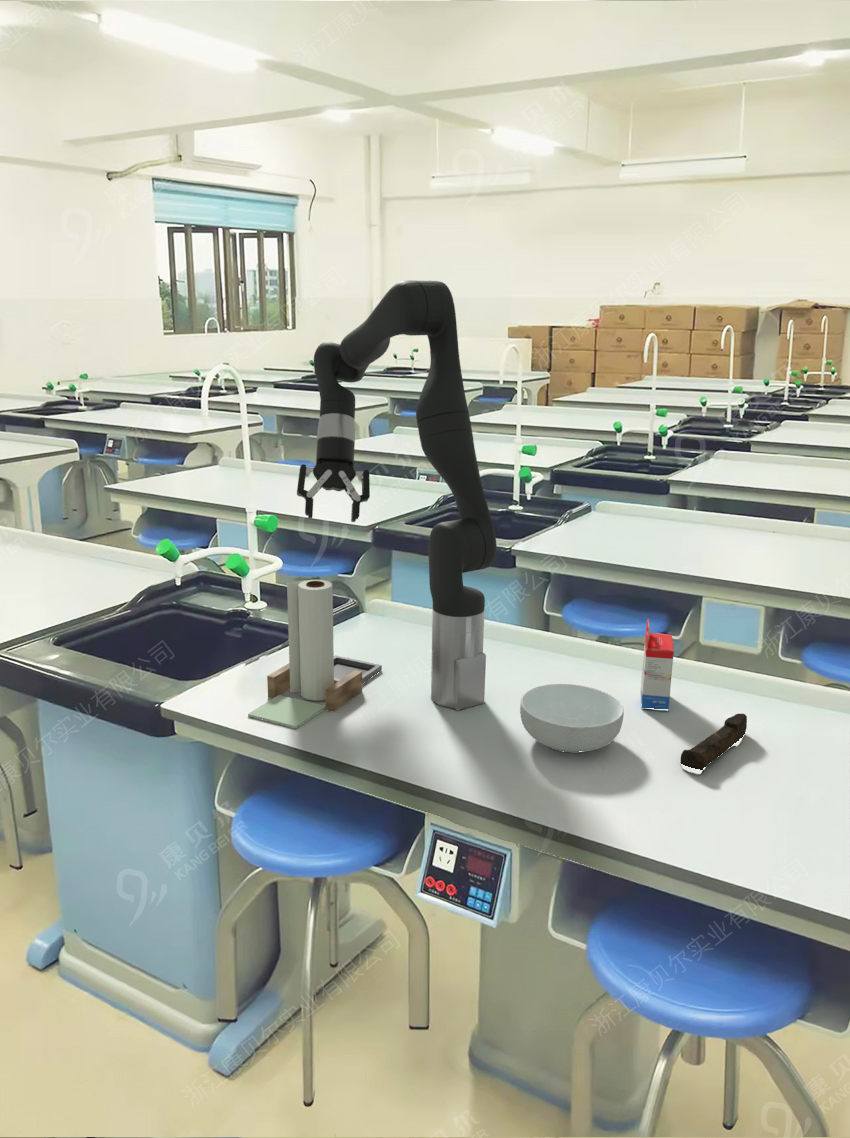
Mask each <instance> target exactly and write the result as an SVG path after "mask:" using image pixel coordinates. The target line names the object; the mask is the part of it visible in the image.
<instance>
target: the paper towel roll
mask: <svg viewBox="0 0 850 1138" xmlns="http://www.w3.org/2000/svg"><path fill="white" fill-rule="evenodd" d="M333 588H334V585H333V583H332V582H331V581H329V580H324V579H308V580H300V581H296V582H287V583H286V589H287V591H286V592H287V593H286V594H287V621H288V622H287V623H288V625H287V626H288V628H287V629H288V655H289V656H288V658H289V659H288V661H289V663H288V664H289V666H290V689H289V691H290V692H289V693H296V692H300V695H301V697H302V698H304V699H305V700H309V701H313V702H314V701H317V702H318V701H326V689H327V688H329V687H330V686H332V685H333V684H334V656H335V655H334V653H335V652H334V603H333V602H334V597H333V595H334V594H333V592H334V590H333Z"/></svg>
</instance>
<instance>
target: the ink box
mask: <svg viewBox="0 0 850 1138" xmlns="http://www.w3.org/2000/svg"><path fill="white" fill-rule="evenodd" d="M650 631H651V630H650V619H649V618H647V621H646V627H645V633H644V634H645V637H644V638H645V639H644V645H643V646H644V647H643V648H644V649H643V659H642V671H641V680H640V681H641V682H640V702H641V703H640V705H641V704H642V706H641V709H642V708H654V709H669V710H670V699H671V687H672V686H671V684H672V672H673V664H674V654H675V649H674V640H673V635H672V634H665V633H655V632H654V633H651V632H650Z"/></svg>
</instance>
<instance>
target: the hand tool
mask: <svg viewBox="0 0 850 1138" xmlns="http://www.w3.org/2000/svg"><path fill="white" fill-rule="evenodd" d="M747 723H748V716H747V715H746V713H736V714H734V715H732V716H730V717H728V718H726V719H725V721H724V723H723V726H721V727H720V728H719V729H718V730H717V731H715V732H713V733H712V734H710V735H709V736H707V737H706V738H705V739H703V740H702V741H700V742H699V743H697V744H696V745H695V746H693V747H691V748H690V749H683V751H682V753H681V755H680V763H681V764H683V765H685V766H688V767H691V768H695V769H700V770H703V768H704V767H706V766H709V765H710V764H711V763H710V762H712V761H713V762H714V761H715V760H717V759H718V758H719V757H718V756H720V755H721V754H722V753H723V754H725V753H726V752H727V751H728V750H727V749H728V748H729V747H731V746H732V745H733V744H734V743H736V742H737V741H739V739H740V738H742V737H743V735H744V734H745V735H746V733H745V732H747ZM731 748H732V747H731ZM726 750H727V751H726ZM725 751H726V752H725ZM724 752H725V753H724ZM723 754H722V755H723ZM722 755H721V756H722ZM717 757H718V758H717ZM713 762H712V763H713ZM680 763H679V764H680ZM709 763H710V764H709ZM681 764H680V765H681ZM708 764H709V765H708Z"/></svg>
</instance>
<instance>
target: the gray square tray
mask: <svg viewBox="0 0 850 1138" xmlns="http://www.w3.org/2000/svg"><path fill="white" fill-rule="evenodd" d="M382 666H383V665H382V664H379V663H373V662H369V661H364V660H359V659H354V658H350V657H345V656H339V655H334V684H335V683H336V682H338V681H339V680H341V679H342V678H344V677H345V676H347V675H348V674H350V673H351V672H353V671H354V670H357V671H362V685H364V684H365V683H366V682H368V681H369V680H371V679H372V678H373V677H372V676H374V675H375V674H376V675H378V674H379V673H381V672H382V671H381V670H382V669H383V668H382ZM380 671H381V672H380ZM378 672H379V673H378ZM377 673H378V674H377ZM376 675H375V676H376ZM375 676H374V677H375ZM371 677H372V678H371ZM370 678H371V679H370ZM368 679H369V680H368ZM367 680H368V681H367ZM364 682H365V683H364ZM363 683H364V684H363Z"/></svg>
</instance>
